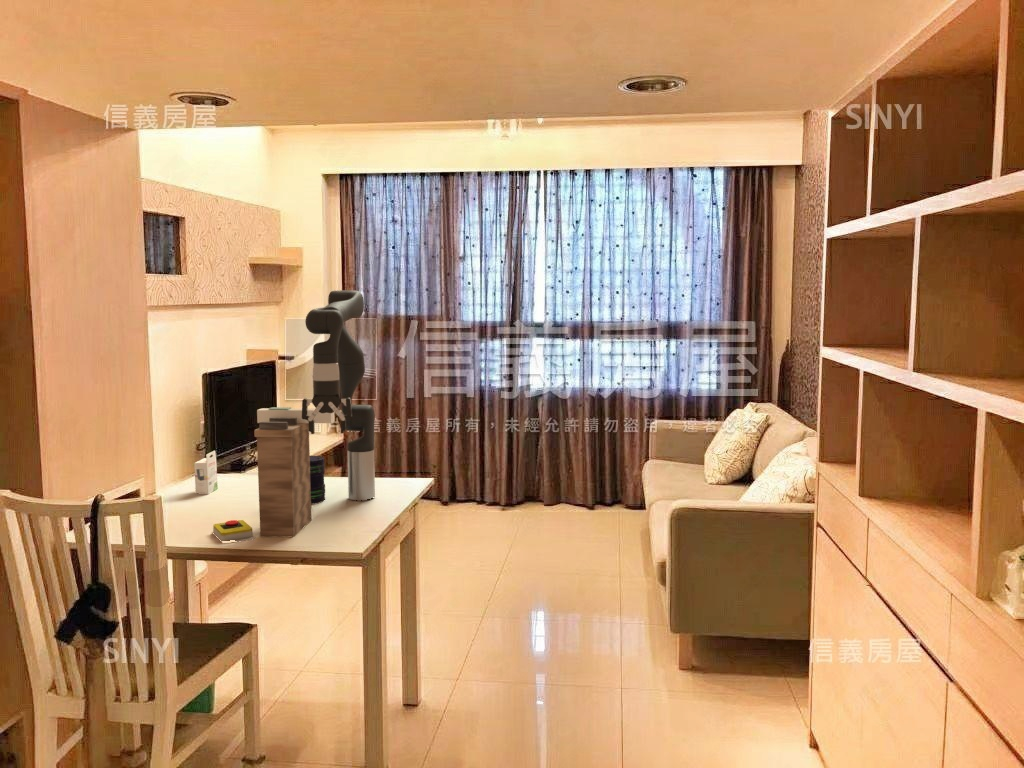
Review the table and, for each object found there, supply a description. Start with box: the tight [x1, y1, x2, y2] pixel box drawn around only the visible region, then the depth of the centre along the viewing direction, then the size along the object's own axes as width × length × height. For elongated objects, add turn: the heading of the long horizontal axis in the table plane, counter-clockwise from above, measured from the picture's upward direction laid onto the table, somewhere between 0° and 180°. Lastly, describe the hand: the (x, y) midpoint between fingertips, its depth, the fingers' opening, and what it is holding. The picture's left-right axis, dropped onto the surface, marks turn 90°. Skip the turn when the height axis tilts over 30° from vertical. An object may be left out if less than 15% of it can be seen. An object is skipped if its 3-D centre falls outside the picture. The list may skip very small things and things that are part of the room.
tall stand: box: [253, 418, 312, 537], centre depth 240 cm, size 19×11×34 cm, turn 178°
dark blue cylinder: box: [310, 455, 326, 505], centre depth 275 cm, size 10×10×15 cm
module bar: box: [256, 406, 336, 424], centre depth 245 cm, size 4×23×4 cm, turn 88°
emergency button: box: [212, 519, 256, 543], centre depth 235 cm, size 9×4×15 cm
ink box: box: [193, 450, 219, 495], centre depth 288 cm, size 9×5×15 cm, turn 178°
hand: (327, 433), depth 231 cm, fingers open, 8 cm apart
